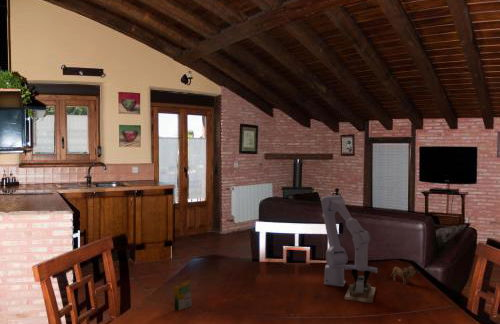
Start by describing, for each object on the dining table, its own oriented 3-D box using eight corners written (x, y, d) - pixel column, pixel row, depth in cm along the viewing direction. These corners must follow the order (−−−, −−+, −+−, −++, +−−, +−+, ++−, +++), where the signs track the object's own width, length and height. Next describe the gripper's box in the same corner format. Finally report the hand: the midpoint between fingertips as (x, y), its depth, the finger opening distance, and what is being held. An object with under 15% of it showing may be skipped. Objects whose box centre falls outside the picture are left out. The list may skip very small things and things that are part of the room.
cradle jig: (344, 299, 191) (344, 292, 191) (350, 286, 208) (350, 280, 207) (372, 303, 186) (372, 296, 186) (375, 289, 203) (375, 283, 203)
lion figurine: (417, 284, 211) (417, 266, 211) (410, 286, 208) (411, 268, 208) (391, 276, 223) (391, 259, 223) (385, 278, 220) (385, 261, 219)
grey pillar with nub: (355, 293, 192) (356, 280, 192) (358, 286, 202) (358, 274, 201) (362, 294, 191) (362, 281, 191) (365, 287, 201) (365, 275, 200)
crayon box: (187, 304, 184) (186, 277, 184) (191, 305, 183) (191, 279, 182) (174, 309, 179) (173, 282, 178) (178, 311, 177) (178, 283, 176)
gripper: (344, 257, 195) (343, 286, 196) (376, 261, 190) (376, 291, 190) (346, 254, 202) (345, 282, 202) (378, 257, 196) (377, 286, 197)
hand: (360, 286), depth 197 cm, fingers closed on grey pillar with nub, 3 cm apart
